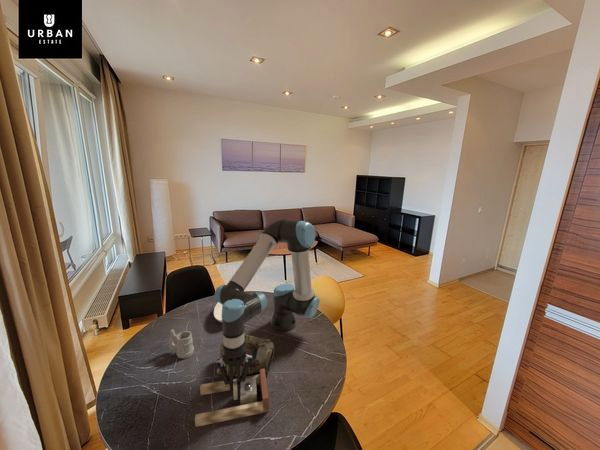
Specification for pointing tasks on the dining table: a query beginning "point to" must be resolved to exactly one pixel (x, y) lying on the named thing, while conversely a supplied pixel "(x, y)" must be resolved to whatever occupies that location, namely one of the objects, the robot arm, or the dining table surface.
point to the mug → (182, 344)
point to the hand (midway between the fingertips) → (235, 396)
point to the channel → (238, 410)
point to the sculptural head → (253, 355)
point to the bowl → (218, 312)
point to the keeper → (248, 392)
